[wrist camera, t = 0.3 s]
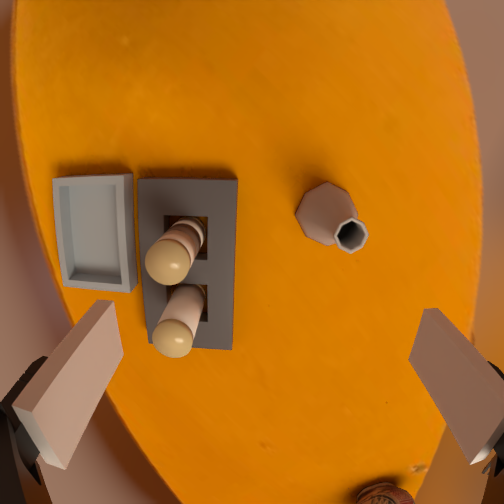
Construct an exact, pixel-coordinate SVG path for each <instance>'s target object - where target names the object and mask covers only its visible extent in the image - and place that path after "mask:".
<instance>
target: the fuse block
mask: <svg viewBox="0 0 504 504" xmlns="http://www.w3.org/2000/svg"><path fill="white" fill-rule="evenodd" d="M237 192H238V179H233V178H197V177H144V178H140V179H138V221H139V244H140V260H141V274H142V286H143V297H144V307H145V317H146V325H147V334H148V341H149V343H151V344H153V341H152V334H153V332H154V330H155V328H156V326H157V324H158V322H159V320H160V318H161V316H162V314H163V312H164V310H165V308H166V306H167V304H168V302H169V300H170V298H171V296H172V293H171V285H164V284H161V283H158V282H157V281H155V280H154V279H153V278H152V277H151V276H150V275H149V273H148V272H147V269H146V266H145V257H146V254H147V252H148V250H149V249H150V247H151V246H152V245H153V244H154V243H155V242H156V241H157V240H158V239H159V238H160V237H161V236H162V235H163V234H164V233H165V232H166V231H167V230H168V229H169V215H175V216H206V217H208V251H207V253H198V254H197V255H196V257H195V259H194V261H193V263H192V265H191V267H190V269H189V271H188V273H187V275H186V277H185V278H184V279H183V280H182V281H181V282H179V283H185V284H202V285H207V290H208V312H202V313H201V316H200V319H199V323H198V326H197V330H196V333H195V337H194V340H193V344H192V347H194V348H207V349H223V350H232V343H233V311H234V276H235V245H236V217H237Z"/></svg>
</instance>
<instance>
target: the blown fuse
mask: <svg viewBox="0 0 504 504" xmlns="http://www.w3.org/2000/svg"><path fill="white" fill-rule="evenodd" d="M205 237H206V228H205V226H204V224H203V222H202V221H201V220H200V219H198V218H197V217H194V216H184V217H182V218H180V219H179V220H178V221H177V222H176V223H175V224H174V225H172V226H171V227H170V228H169V229H168V230H167V231H166V232H165V233H164V234H163V235H162V236H161V237H160V238H159V239H158V240H157V241H156V242H155V243H154V244H153V245H152V246H151V247H150V249H149V250H148V252H147V254H146V257H145V266H146V269H147V272H148V273H149V275H150V276H151V277H152V278H153V279H154V280H155V281H157V282H158V283H161V284H164V285H174V284H177V283H179V282H181V281H182V280H183V279H184V278H185V277H186V275H187V273H188V271H189V269H190V267H191V265H192V263H193V261H194V259H195V257H196V255H197V254H198V252H199V250H200V248H201V246H202V244H203V242H204V240H205Z"/></svg>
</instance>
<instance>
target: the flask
mask: <svg viewBox="0 0 504 504" xmlns="http://www.w3.org/2000/svg"><path fill="white" fill-rule="evenodd" d="M295 217H296V219H297V221H298V222H299V224H300V226H301V228H302V230H303V232H304V234H305V236H306V237H308V238H310V239H313V240H315V241H317V242H319V243H322V244H324V245H326V246H329V245H331V244H335V243H336V244H337V246H338V248H339V249H342V250H344V251H346V252H348V253H350V254H351V253H353V252H355V251H357V250H359V249H360V248H362V247H363V246H364V244H365V242H366V240H367V238H368V236H369V234H368V231H367V229H366V227H365V224H364V223H363V222H362V221H360V220H358V219H357V217H358V213H357V210H356V208H355V206H354V204H353V202H352V200H351V197H350V195H349V193H348V192H346V191H344V190H343V189H341V188H339V187H337V186H335V185H333V184H331V183H329V182H325V183H323V184H322V185H320V186H318V187H316V188H314V189H312V190H310V191H308V192H307V193H305V195H304V197H303V199H302V201H301V203H300V206H299V208H298V210H297V212H296V214H295Z"/></svg>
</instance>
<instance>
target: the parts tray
mask: <svg viewBox="0 0 504 504" xmlns="http://www.w3.org/2000/svg"><path fill="white" fill-rule="evenodd" d="M52 180H53V201H54V215H55V226H56V236H57V245H58V253H59V260H60V267H61V274H62V280H63V286H66V287H76V288H85V289H95V290H105V291H116V292H127V293H131V291H132V290H133V289H134V288H135V286H136V285H137V284H138V277H137V264H136V250H135V231H134V203H133V173H121V174H93V175H73V176H62V177H58V178H53V179H52Z"/></svg>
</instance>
